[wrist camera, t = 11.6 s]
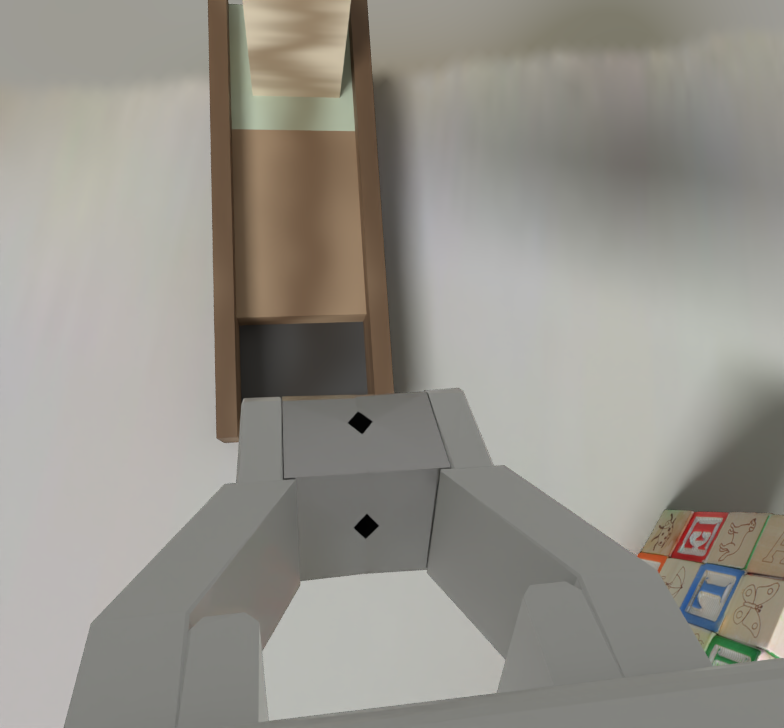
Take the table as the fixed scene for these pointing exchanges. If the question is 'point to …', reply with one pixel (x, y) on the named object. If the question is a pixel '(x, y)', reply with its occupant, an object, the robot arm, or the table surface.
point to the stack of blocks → (724, 579)
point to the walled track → (294, 231)
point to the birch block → (296, 46)
